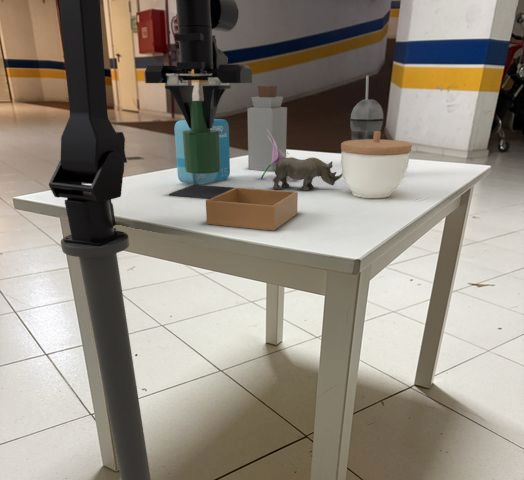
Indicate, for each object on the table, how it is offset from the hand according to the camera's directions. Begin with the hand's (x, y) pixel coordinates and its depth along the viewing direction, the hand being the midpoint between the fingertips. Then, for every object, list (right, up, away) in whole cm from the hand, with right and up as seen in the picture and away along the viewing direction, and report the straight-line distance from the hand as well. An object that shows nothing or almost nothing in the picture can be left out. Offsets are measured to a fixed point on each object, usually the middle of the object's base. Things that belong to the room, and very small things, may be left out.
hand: (200, 128), depth 91 cm
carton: (+10, -20, -13) cm, 26 cm away
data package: (-1, -5, +15) cm, 16 cm away
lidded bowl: (+32, -12, +3) cm, 34 cm away
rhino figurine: (+20, -9, +8) cm, 24 cm away
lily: (+15, -3, +18) cm, 24 cm away
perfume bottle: (+13, +4, +32) cm, 34 cm away
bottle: (0, -7, +4) cm, 8 cm away
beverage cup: (+34, -1, +22) cm, 41 cm away
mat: (0, -10, +6) cm, 12 cm away
